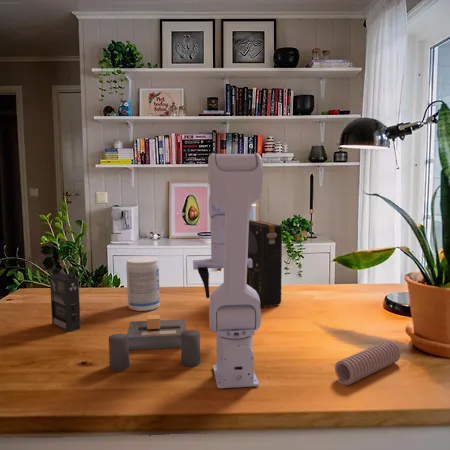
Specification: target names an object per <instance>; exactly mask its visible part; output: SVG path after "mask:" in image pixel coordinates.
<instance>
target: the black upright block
mask: <svg viewBox="0 0 450 450" xmlns="http://www.w3.org/2000/svg"><path fill="white" fill-rule="evenodd" d="M282 252H283V226H282V225H281V224H275V223H271V222H265V221H260V220H253V219H249V232H248V258H247V259H252V268H248V269H249V272H248V275H247V283H246V284H247V285H249V286H250V287H252V288H253V289H254V290H256V292H257V294H258V295H259V299H260V308H262V309H263V308H266V307H269V306H276V305H280V304H281V303H282V268H283V267H282V264H283V263H282V258H283V257H282V255H283V253H282Z"/></svg>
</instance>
